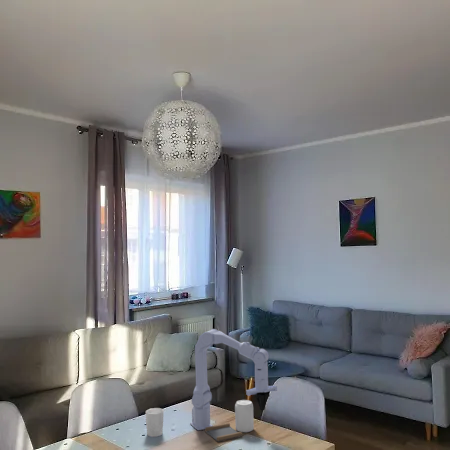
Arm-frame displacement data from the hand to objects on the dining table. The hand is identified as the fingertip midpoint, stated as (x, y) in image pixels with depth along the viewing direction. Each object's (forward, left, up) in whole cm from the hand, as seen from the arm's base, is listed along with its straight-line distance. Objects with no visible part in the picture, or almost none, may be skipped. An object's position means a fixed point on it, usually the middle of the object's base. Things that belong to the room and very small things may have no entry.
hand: (262, 409), depth 201 cm
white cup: (-23, -42, -11) cm, 49 cm away
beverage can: (-8, -5, -11) cm, 14 cm away
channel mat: (-8, -15, -10) cm, 20 cm away
